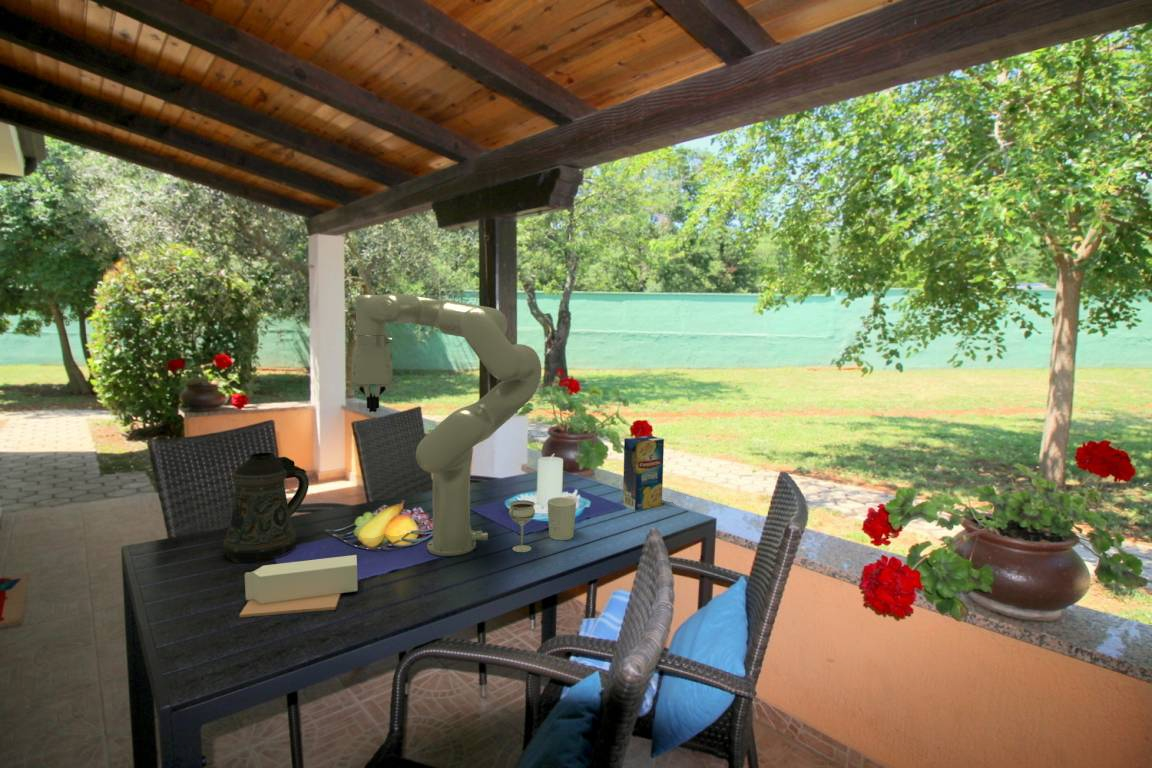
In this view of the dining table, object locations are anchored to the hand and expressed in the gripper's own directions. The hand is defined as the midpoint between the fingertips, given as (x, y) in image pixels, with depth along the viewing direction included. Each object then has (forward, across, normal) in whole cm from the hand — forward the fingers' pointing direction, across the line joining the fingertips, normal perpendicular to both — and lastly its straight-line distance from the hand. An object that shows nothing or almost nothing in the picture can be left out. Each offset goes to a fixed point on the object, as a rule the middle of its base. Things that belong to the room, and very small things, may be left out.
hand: (373, 411), depth 160 cm
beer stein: (+35, +27, +2) cm, 44 cm away
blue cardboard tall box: (+35, -82, -16) cm, 90 cm away
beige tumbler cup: (+35, -50, +7) cm, 62 cm away
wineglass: (+35, -38, +14) cm, 54 cm away
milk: (+32, +1, +30) cm, 44 cm away
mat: (+35, +13, +30) cm, 48 cm away
